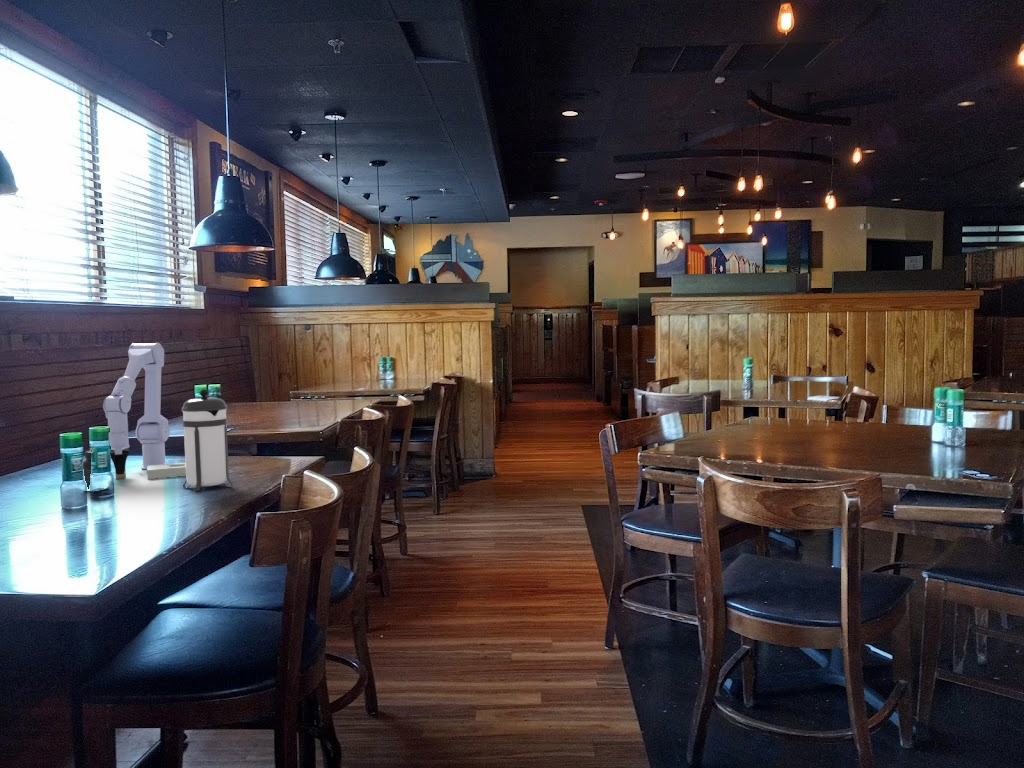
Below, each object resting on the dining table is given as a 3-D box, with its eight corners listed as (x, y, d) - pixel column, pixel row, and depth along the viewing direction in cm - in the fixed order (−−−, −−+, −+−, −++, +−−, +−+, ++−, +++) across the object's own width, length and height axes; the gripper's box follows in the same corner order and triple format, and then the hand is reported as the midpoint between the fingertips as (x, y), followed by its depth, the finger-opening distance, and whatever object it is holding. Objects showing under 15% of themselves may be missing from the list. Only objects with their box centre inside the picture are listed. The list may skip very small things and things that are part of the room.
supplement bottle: (84, 489, 231) (82, 450, 230) (109, 486, 234) (107, 448, 233) (82, 493, 224) (79, 453, 224) (108, 490, 227) (106, 451, 226)
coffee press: (244, 482, 237) (240, 387, 235) (219, 493, 221) (215, 391, 219) (191, 482, 239) (187, 387, 237) (163, 492, 223) (158, 391, 221)
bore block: (147, 474, 254) (147, 465, 254) (205, 469, 262) (205, 460, 261) (147, 479, 245) (147, 470, 245) (207, 474, 252) (206, 465, 252)
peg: (115, 478, 248) (114, 459, 248) (126, 477, 250) (125, 459, 249) (115, 479, 246) (114, 461, 245) (125, 478, 247) (124, 460, 247)
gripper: (105, 430, 252) (107, 471, 252) (103, 435, 238) (105, 478, 239) (129, 429, 255) (131, 469, 255) (128, 434, 242) (130, 476, 242)
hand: (120, 473), depth 248 cm, fingers closed on peg, 3 cm apart
